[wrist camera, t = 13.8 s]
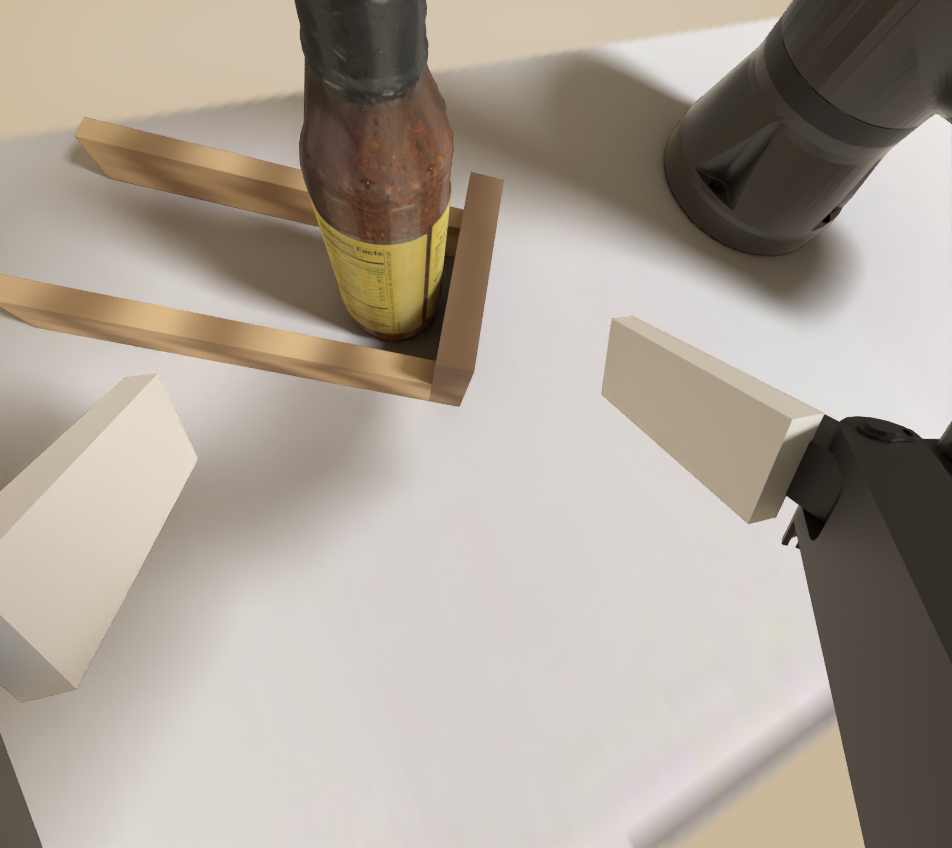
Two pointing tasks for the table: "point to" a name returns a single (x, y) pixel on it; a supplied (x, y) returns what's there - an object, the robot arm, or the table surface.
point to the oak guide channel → (255, 345)
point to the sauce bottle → (376, 158)
